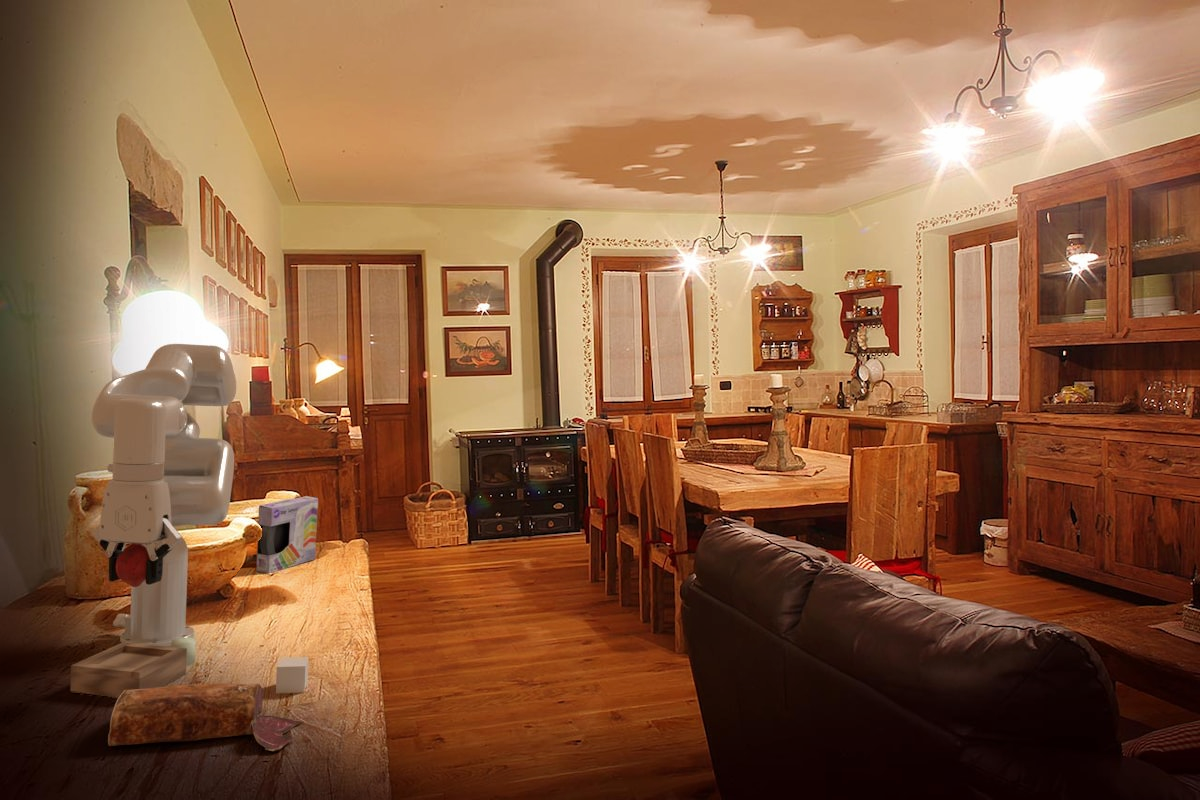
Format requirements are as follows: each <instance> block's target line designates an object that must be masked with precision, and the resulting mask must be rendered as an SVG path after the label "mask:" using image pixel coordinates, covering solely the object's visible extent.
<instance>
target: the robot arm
mask: <svg viewBox="0 0 1200 800" xmlns="http://www.w3.org/2000/svg"><path fill="white" fill-rule="evenodd" d="M236 394H237V380H236V375H235V369H234V367H233V363H232V360H231V358H230V355H229V354H228V353H227V351H226V350H225V349H223V348H222V347H219V346H217V345H204V344H186V343H168V344H164V345H163V346H160V347H158V348H157V349H156V350H155V351H154V352H153V355H152V356H151V358H150V360H149V361H148V362H147V364H146V367H145V368H144V369H142V370H141V369H140V370H137V371H134V372H131V373H129V374H125V375H122V376H120V377H116V378H114V379H112V380H110V381H109V382H108V383H106V384H105V385H104V386H103V388H102V389H101V391H100V392H99V394H98V395H97V398H96V399H95V402H94V405H93V407H92V411H91V423H92V427H93V429H94V431H95V432H96V434H97V433H98V435H100V436H102V437H105V438H111V439H112V438H113V449H112V450H113V452H112V455H113V456H112V463H111V464H108V465H107V467H106V468H107V472H108V473H112V476H111V477H112V479H110V480H107V483H106V486H105V489H104V493H103V496H102V497H103V498H102V502H101V508H100V519H99V524H98V525H97V526H96V527H95V529H94V530H92V532H91V535H92V536H93V538H94V539H95V540H96V541H97V542H98V543H99V546H100V547H101V548H102V549H103V551H104V554H105V556H106V557H107V558H108V581H109V582H115V581H118V580H121V579H120V578H119V577H118V575H117V573H116V561H117V558H118V556H119V555H120V554H121V553H122V552H123V551H124V549H126V545H127V544H130V545H131V544H142V545H143V546H145V547H146V548H147V551H148V554H149V557H150V560H148V561H147V562H146V580H145V581H144V582H142V583H141V585H139V586H138V587H132V586H130V588H131V589H130V591H131V592H130V614H127V613H118V614H117V615H116V617H115V619H114V620H113V622H112V625H113V627H115V628H116V627H117V628H123V629H124V632H123V633H122V634H121V635H120V638H119V639H120V640H119V643H120V642H121V643H123V642H126V643H136V644H146V645H156V646H166V647H171V641H172V640H174V639H177V638H183V637H191V638H194V637H195V630H194V628H193V627H192V626H190V625H186V620H187V619H186V618H187V617H186V616H187V594H188V592H187V591H188V590H187V589H188V587H187V586H188V561H189V560H188V558H189V548H188V545H187V542H186V540H185V538H184V537H183V536H182V535H181V534H180V533H179V532H180V531H178V530H177V529H176V527H182V526H215V525H219V524H221V523H222V522H224V521H225V520H226V518H227V515H228V513H229V509H230V504H231V503H230V502H231V496H232V495H231V494H232V487H233V479H234V471H235V454H234V453H235V452H234V449H233V447H232V445H231V444H230V443H229V442H228V441H227V440H224V439H222V438H212V437H211V438H209V437H206V438H205V437H200V436H201V435H200V434H201V428H200V426H199V424H198V423H197V421H196V420H195V418H194V417H193V416H192V415H191V414H190V413H188V411H187V408H186V407H185V406H195V407H197V406H198V407H199V406H201V407H202V406H203V407H225V406H229V405H230V404H231V403H232V402H233V401H234V399H235V397H236ZM121 643H120V644H121Z"/></svg>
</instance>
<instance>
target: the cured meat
mask: <svg viewBox="0 0 1200 800" xmlns="http://www.w3.org/2000/svg"><path fill="white" fill-rule="evenodd" d="M262 709H263V689H262V686H261V684H260V683H225V682H224V683H223V682H220V683H218V682H214V683H205V684H204V683H199V684H198V683H197V684H179V685H169V686H168V685H166V686H164V687H158V688H147V689H133V690H124V691H123V693H122V694H121V695H120V697H119V698H117V700H116V702H115V704H114V707H113V710H112V713H111V717H110V723H109V731H108V735H107V737H108V739H107V744H108V746H109V747H115V746H117V747H118V746H127V745H130V746H131V745H140V744H142V745H143V744H152V743H153V744H154V743H171V742H172V743H175V742H178V743H179V742H192V741H194V742H195V741H200V740H207V739H216V738H217V739H218V738H227V737H229V738H230V737H235V736H237V737H239V736H245V735H246V736H248V735H253V737H254V738H255V741H256V742H257V743H258V745H260V746H262V747H263V748H264V750H265V751H271V752H276V751H279V750H281V749H282V748H283V747H285V746H286V745H287V744H289V743H290V741H291V740H292V739H293V736H292V735H287V734H286V733H288V732H289V731H290V730H291V729H292V728H294V727H296V726H298V725H301V723H303V721H302V720H298V719H296V720H294V719H290V718H285V717H279V716H275V715H266V714H265V715H263V714H262V715H261V714H259V713H261V712H262Z"/></svg>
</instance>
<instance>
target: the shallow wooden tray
mask: <svg viewBox="0 0 1200 800" xmlns="http://www.w3.org/2000/svg"><path fill="white" fill-rule="evenodd" d="M186 658H187V648H176V647H171V646H170V647H166V646H156V645H146V644H136V643H126V642H123V643H119V644H116V645H114V646H112V647H110V648H107V649H106V650H102V651H100V652H98V653H95V654H94V655H91V656H89V657H87V658H84V659H82V660H80V661H78V662H76V663H73V664H72V665H70V689H69V690H70V691H76V692H82V693H87V694H96V695H103V696H108V697H107V698H110V697H112V699H118V698H119V697H120V695H121V694H122V693H123V691H124V690H133V689H147V688H158V687H166V686H168V685H169V684H172V683H173V682H175V681H176V679H177V680H179V679H180V678H182V677H184V676H186V675H185V674H187V666H186ZM183 675H184V676H183ZM174 680H175V681H174ZM167 684H168V685H167ZM165 685H166V686H165ZM70 691H69V692H70Z"/></svg>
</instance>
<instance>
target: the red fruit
mask: <svg viewBox="0 0 1200 800" xmlns="http://www.w3.org/2000/svg"><path fill="white" fill-rule="evenodd" d="M148 560H150V557H149V554H148V551H147V548H146V547H145V546H143V545H142V544H131V543H130V545H129V546H127V547H125V548H124V550H123V552H122V553H121V554H120V555H119V556H118V558H117V561H116V573H117V575H118V577H119V578H120V579H119V580H121V581H122V582H124V583H125V584H127V585H129V586H130V587H131V586H132V587H138V586H139V585H141V583H142V582H144V581H145V580H146V562H147V561H148Z"/></svg>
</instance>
